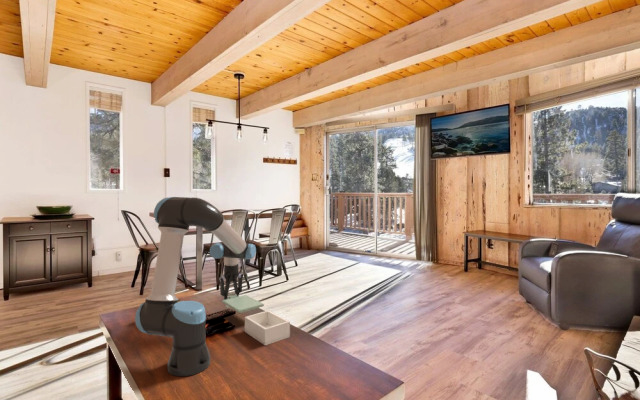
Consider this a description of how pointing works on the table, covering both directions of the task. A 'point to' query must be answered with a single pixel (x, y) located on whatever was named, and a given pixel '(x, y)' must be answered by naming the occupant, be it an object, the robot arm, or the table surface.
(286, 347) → the table surface
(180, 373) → the robot arm
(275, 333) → the tub
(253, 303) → the lid
